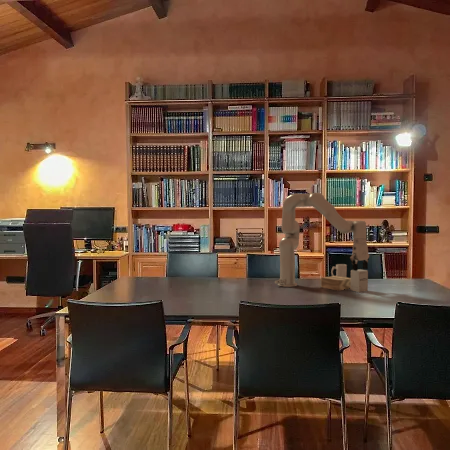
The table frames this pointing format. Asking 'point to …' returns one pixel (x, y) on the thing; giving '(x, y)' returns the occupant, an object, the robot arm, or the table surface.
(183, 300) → the table surface
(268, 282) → the table surface
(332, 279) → the birch block
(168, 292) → the table surface
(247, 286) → the table surface
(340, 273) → the mug
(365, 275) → the supplement box
